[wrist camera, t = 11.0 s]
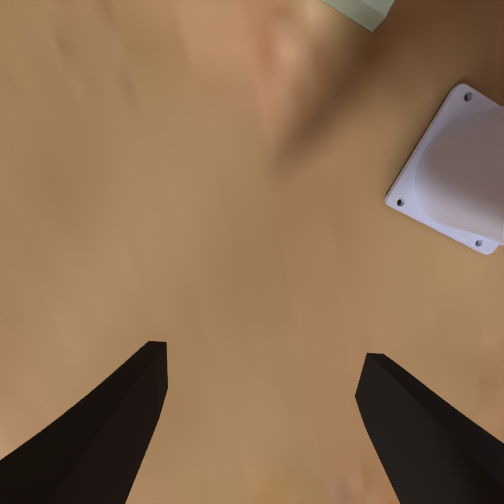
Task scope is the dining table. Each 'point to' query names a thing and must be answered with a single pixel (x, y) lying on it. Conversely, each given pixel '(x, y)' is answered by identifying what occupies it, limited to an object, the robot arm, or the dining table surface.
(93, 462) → the robot arm
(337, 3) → the pin tray
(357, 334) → the dining table surface
